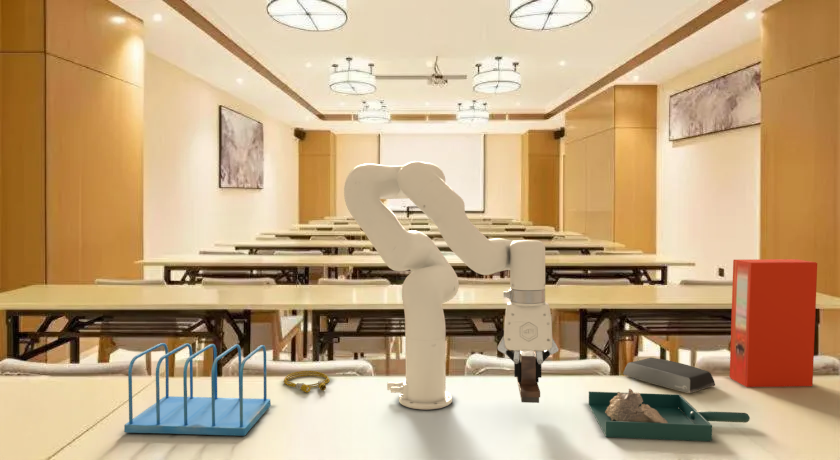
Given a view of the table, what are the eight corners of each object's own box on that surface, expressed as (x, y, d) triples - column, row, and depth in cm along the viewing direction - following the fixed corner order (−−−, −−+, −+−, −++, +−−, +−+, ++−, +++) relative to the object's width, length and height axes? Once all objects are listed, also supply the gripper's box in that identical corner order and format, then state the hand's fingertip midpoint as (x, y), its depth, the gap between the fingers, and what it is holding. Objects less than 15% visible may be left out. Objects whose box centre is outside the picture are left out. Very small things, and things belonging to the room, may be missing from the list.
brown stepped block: (520, 402, 121) (520, 361, 121) (516, 382, 135) (516, 345, 135) (540, 403, 121) (540, 362, 120) (534, 383, 135) (534, 346, 134)
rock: (656, 440, 115) (657, 404, 115) (599, 417, 127) (599, 385, 127) (675, 434, 118) (676, 399, 118) (617, 412, 130) (618, 381, 130)
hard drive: (687, 395, 142) (687, 379, 142) (620, 376, 158) (621, 361, 158) (717, 386, 149) (717, 370, 149) (650, 368, 166) (650, 354, 165)
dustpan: (605, 437, 117) (605, 421, 117) (588, 405, 136) (588, 391, 136) (771, 443, 114) (771, 427, 114) (730, 410, 133) (730, 396, 133)
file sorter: (123, 434, 118) (121, 359, 118) (164, 404, 136) (163, 339, 135) (245, 436, 117) (244, 361, 117) (271, 406, 135) (270, 340, 134)
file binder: (813, 386, 150) (817, 262, 148) (747, 387, 149) (751, 262, 147) (791, 377, 158) (795, 259, 156) (729, 378, 157) (732, 259, 155)
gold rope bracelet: (275, 393, 144) (275, 385, 144) (289, 374, 160) (289, 367, 160) (325, 393, 144) (325, 385, 144) (334, 374, 160) (334, 367, 160)
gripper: (489, 299, 124) (490, 384, 125) (568, 299, 122) (568, 386, 123) (489, 294, 132) (489, 374, 132) (563, 294, 130) (563, 376, 131)
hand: (527, 379), depth 128 cm, fingers closed on brown stepped block, 3 cm apart
